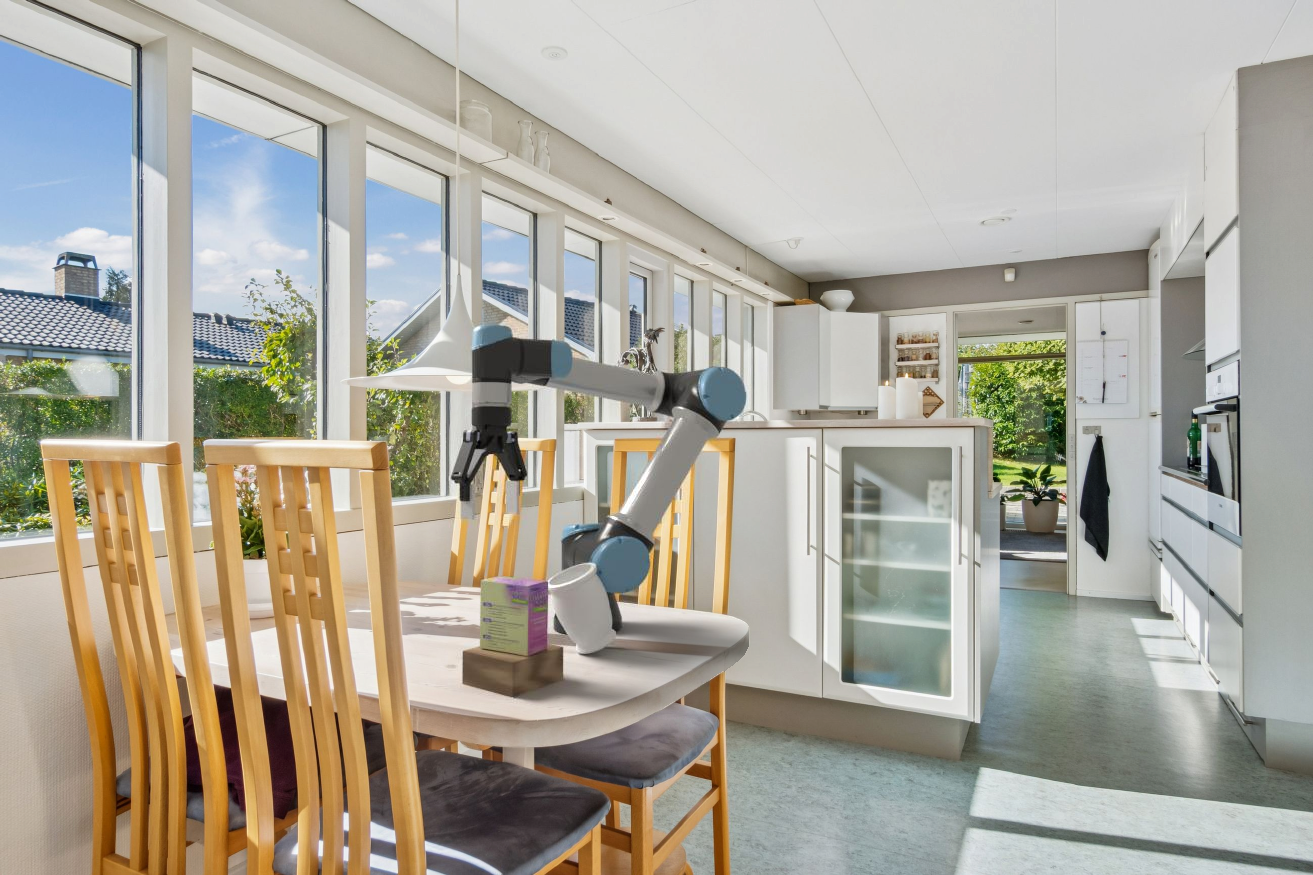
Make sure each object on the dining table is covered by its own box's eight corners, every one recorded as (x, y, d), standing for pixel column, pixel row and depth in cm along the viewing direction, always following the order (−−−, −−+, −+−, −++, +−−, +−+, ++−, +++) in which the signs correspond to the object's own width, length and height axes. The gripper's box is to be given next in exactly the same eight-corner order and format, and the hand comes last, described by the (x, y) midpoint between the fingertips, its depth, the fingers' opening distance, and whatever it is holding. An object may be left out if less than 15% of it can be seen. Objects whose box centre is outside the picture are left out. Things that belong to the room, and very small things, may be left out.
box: (548, 649, 133) (548, 580, 133) (528, 657, 128) (528, 585, 128) (500, 641, 138) (501, 575, 138) (479, 649, 133) (479, 579, 133)
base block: (514, 669, 141) (514, 636, 141) (563, 681, 134) (563, 646, 134) (462, 686, 131) (462, 650, 131) (512, 700, 124) (512, 662, 125)
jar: (595, 629, 160) (570, 563, 157) (632, 629, 153) (606, 560, 151) (561, 657, 152) (533, 588, 149) (598, 658, 145) (570, 586, 143)
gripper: (514, 409, 163) (514, 510, 162) (431, 403, 140) (430, 520, 140) (544, 408, 159) (543, 512, 159) (464, 402, 137) (463, 522, 137)
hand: (490, 516), depth 149 cm, fingers open, 13 cm apart
